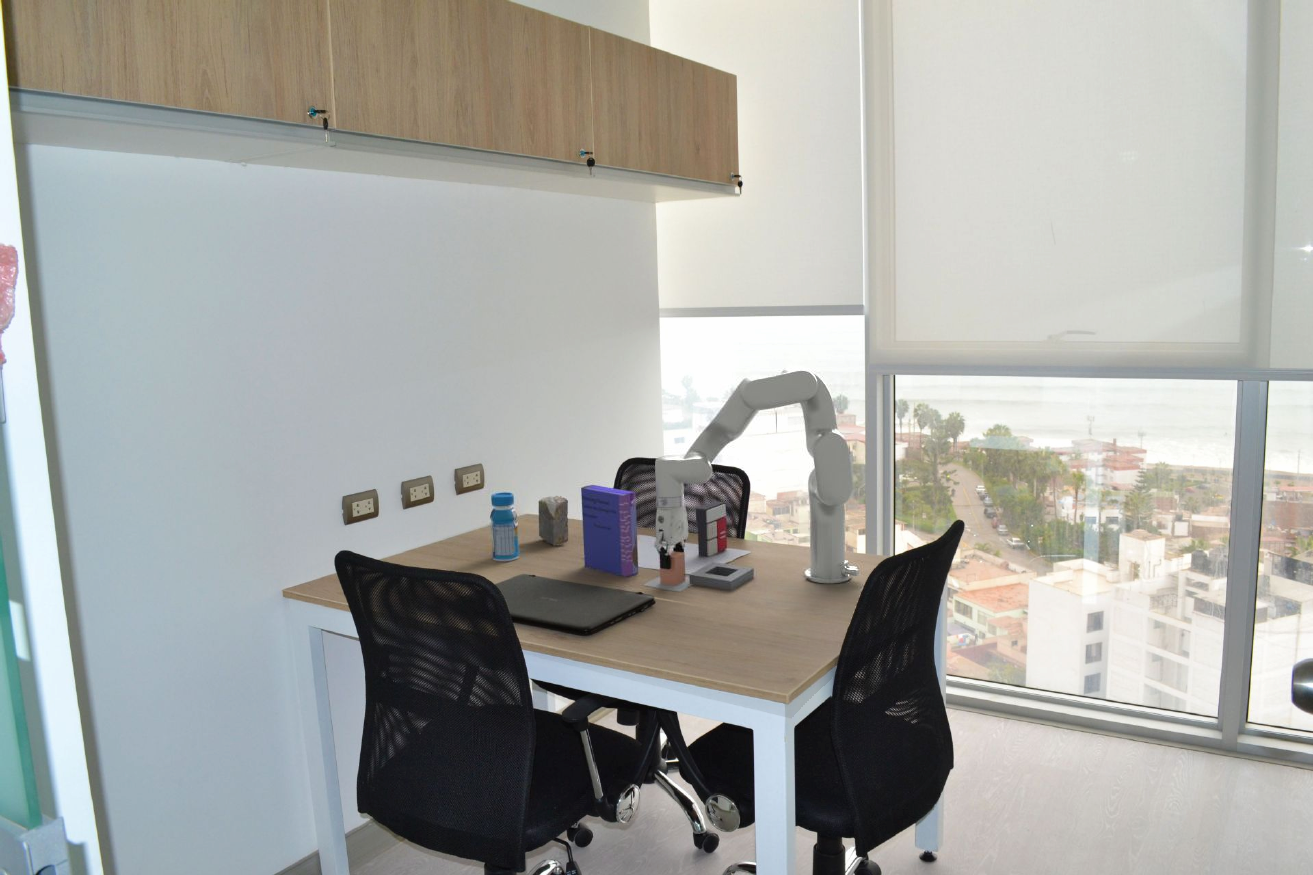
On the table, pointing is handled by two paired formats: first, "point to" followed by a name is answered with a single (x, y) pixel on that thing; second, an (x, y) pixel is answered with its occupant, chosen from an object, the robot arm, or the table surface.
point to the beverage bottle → (504, 527)
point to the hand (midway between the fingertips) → (672, 564)
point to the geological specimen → (553, 520)
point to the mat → (656, 584)
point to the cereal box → (610, 530)
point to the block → (674, 570)
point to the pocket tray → (721, 576)
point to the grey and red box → (711, 528)
